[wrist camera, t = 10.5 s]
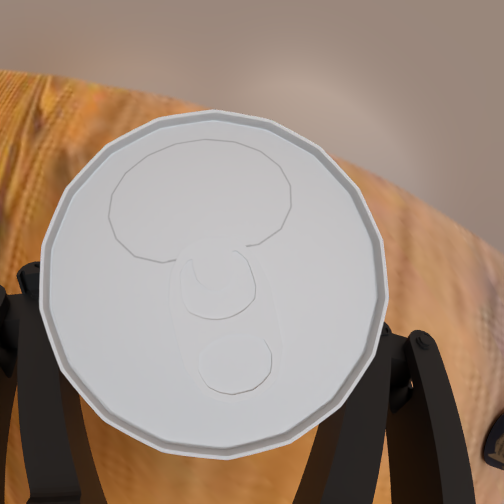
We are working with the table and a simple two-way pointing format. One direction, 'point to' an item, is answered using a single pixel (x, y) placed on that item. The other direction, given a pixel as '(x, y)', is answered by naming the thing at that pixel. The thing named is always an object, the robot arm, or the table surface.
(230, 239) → the supplement can
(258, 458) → the table surface
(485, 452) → the canister
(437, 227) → the table surface
